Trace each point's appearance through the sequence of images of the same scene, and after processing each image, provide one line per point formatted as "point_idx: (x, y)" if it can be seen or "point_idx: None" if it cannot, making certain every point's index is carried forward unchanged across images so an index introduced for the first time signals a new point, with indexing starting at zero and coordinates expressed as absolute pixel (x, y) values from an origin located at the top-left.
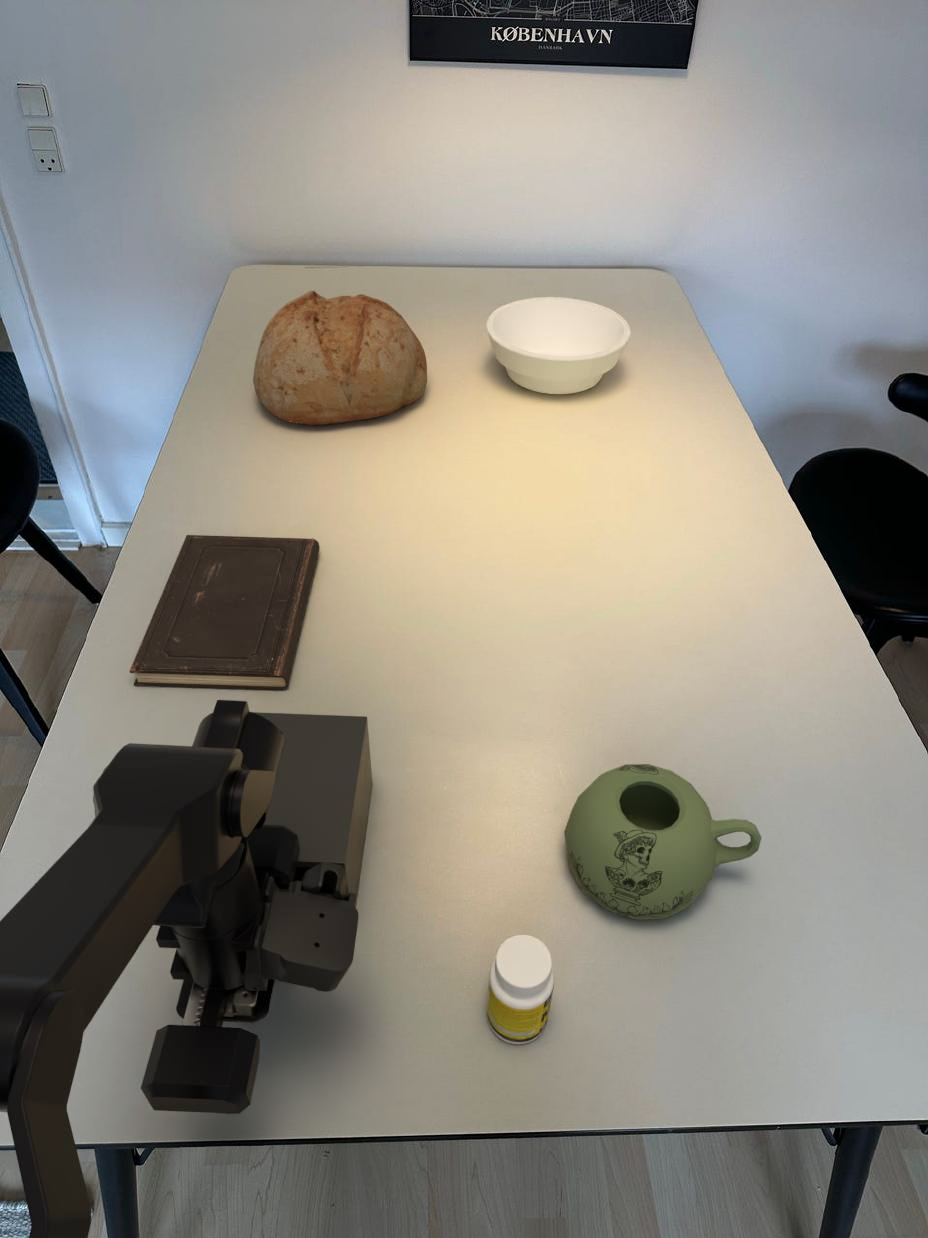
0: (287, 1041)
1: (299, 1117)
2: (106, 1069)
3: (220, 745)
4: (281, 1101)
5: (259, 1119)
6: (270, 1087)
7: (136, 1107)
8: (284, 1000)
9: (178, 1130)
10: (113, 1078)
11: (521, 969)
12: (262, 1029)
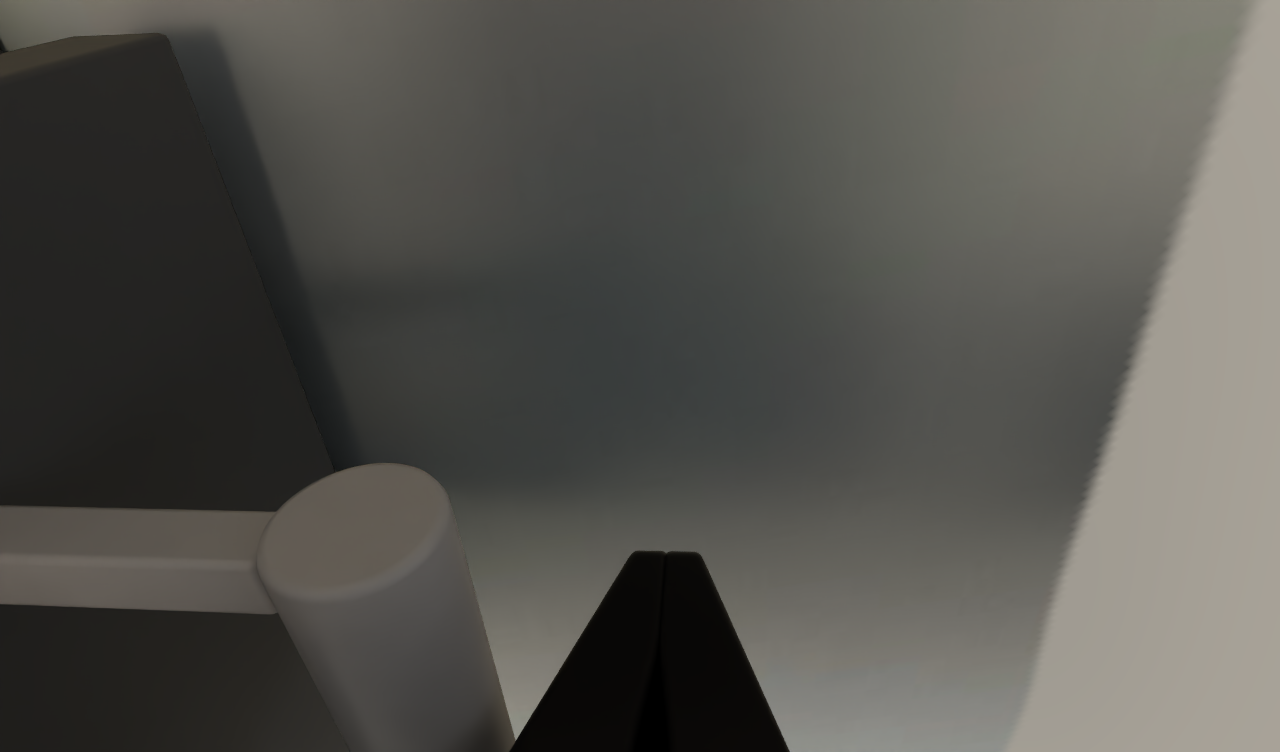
0: (714, 246)
1: (1145, 105)
2: (815, 741)
3: None
4: (1028, 220)
5: (1095, 307)
6: (945, 285)
7: (946, 672)
8: (510, 297)
9: (1057, 568)
10: (844, 726)
11: None
12: (662, 366)
